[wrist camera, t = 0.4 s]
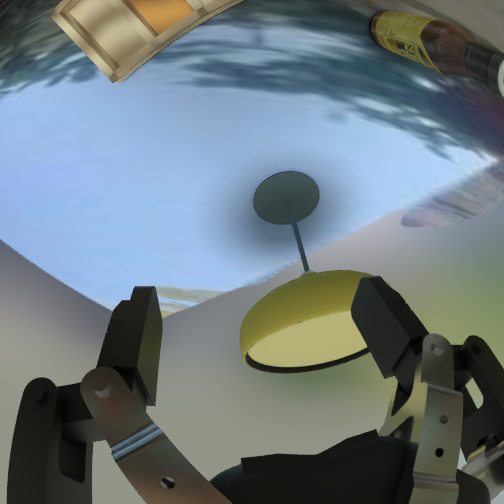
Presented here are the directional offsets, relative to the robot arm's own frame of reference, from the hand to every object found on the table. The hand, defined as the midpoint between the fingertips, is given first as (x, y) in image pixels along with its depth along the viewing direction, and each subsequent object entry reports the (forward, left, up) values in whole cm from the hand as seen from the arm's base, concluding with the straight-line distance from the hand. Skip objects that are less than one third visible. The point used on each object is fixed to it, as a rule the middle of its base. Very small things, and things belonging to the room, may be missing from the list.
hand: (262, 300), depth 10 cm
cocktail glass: (+20, -2, -29) cm, 35 cm away
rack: (-17, 0, -29) cm, 34 cm away
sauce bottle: (+1, +23, -29) cm, 37 cm away
